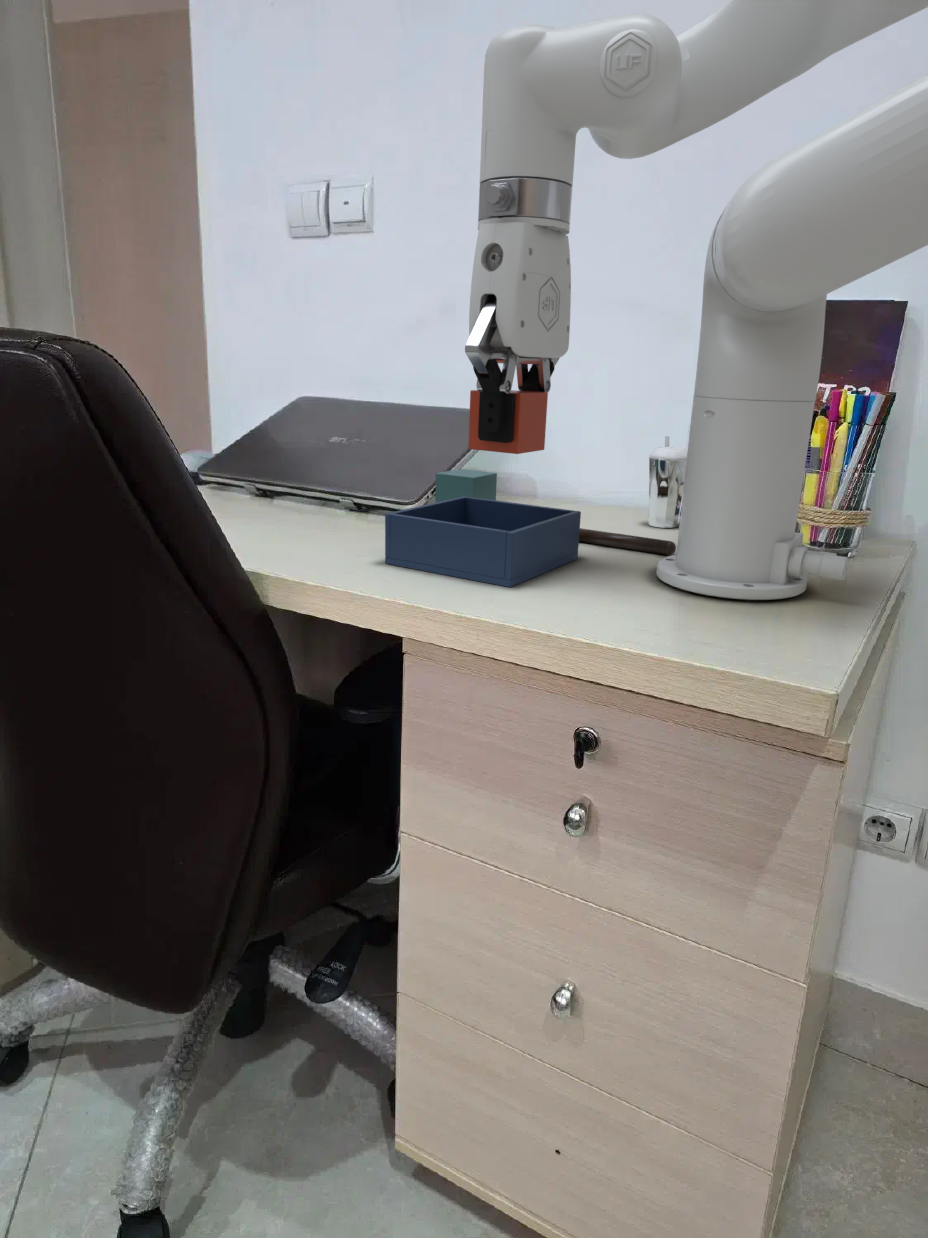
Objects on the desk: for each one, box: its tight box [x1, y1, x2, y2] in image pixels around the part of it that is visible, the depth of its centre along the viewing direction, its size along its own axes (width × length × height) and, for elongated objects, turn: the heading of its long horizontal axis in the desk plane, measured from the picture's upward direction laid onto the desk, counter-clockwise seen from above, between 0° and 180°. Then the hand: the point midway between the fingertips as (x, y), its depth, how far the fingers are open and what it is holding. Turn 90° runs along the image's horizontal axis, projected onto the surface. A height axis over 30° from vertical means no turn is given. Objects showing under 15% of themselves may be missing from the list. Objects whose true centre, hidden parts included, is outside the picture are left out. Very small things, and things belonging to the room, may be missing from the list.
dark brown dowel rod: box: [579, 527, 677, 556], centre depth 89 cm, size 28×4×1 cm, turn 57°
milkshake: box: [647, 436, 688, 529], centre depth 96 cm, size 5×5×10 cm
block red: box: [467, 389, 549, 455], centre depth 73 cm, size 5×5×5 cm
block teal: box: [434, 468, 498, 503], centre depth 94 cm, size 5×5×5 cm
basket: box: [384, 496, 582, 588], centre depth 77 cm, size 13×13×5 cm
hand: (512, 436), depth 73 cm, fingers closed on block red, 5 cm apart
